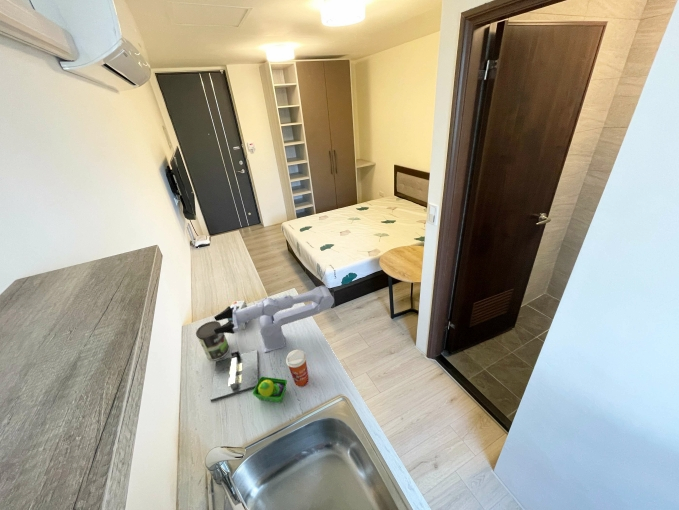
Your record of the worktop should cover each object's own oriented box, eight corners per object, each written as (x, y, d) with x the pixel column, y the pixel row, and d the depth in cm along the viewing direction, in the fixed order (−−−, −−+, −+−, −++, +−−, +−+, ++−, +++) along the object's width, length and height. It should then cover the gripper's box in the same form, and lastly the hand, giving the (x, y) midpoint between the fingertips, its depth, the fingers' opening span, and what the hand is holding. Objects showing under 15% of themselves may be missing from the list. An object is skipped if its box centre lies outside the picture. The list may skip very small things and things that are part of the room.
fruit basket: (290, 388, 107) (284, 368, 101) (281, 410, 99) (275, 390, 94) (263, 384, 109) (256, 365, 104) (253, 405, 102) (245, 386, 96)
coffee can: (233, 343, 130) (225, 321, 124) (221, 361, 122) (211, 338, 115) (215, 342, 133) (205, 320, 126) (201, 359, 124) (190, 336, 117)
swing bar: (238, 357, 121) (236, 352, 119) (237, 387, 108) (234, 382, 106) (234, 358, 120) (232, 354, 119) (231, 389, 107) (229, 384, 106)
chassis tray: (257, 351, 125) (255, 344, 122) (258, 387, 109) (255, 379, 106) (216, 363, 121) (213, 355, 119) (211, 401, 105) (207, 393, 103)
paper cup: (295, 392, 105) (289, 368, 98) (289, 377, 111) (282, 353, 104) (314, 383, 108) (309, 358, 101) (307, 369, 114) (301, 345, 107)
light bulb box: (244, 330, 138) (238, 313, 133) (231, 331, 138) (225, 314, 133) (250, 315, 147) (245, 300, 142) (238, 316, 148) (232, 300, 142)
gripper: (243, 296, 120) (211, 306, 117) (246, 318, 108) (210, 330, 105) (248, 308, 124) (217, 318, 121) (251, 330, 112) (217, 342, 109)
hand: (215, 325), depth 113 cm, fingers open, 7 cm apart
